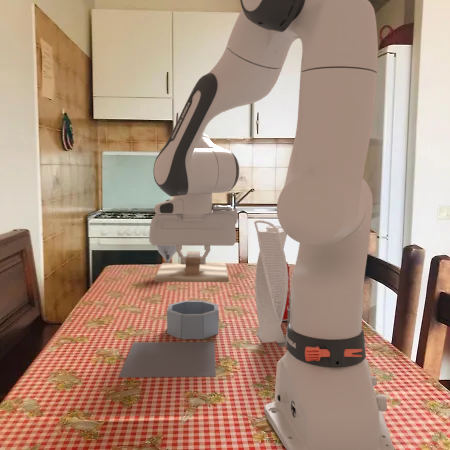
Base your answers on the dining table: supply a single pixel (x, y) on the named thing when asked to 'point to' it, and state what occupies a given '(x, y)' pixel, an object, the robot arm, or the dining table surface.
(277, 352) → the dining table surface
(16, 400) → the dining table surface
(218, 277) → the cover board
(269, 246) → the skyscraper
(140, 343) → the rubber mat
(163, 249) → the wine glass
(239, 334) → the dining table surface
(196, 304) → the bowl
